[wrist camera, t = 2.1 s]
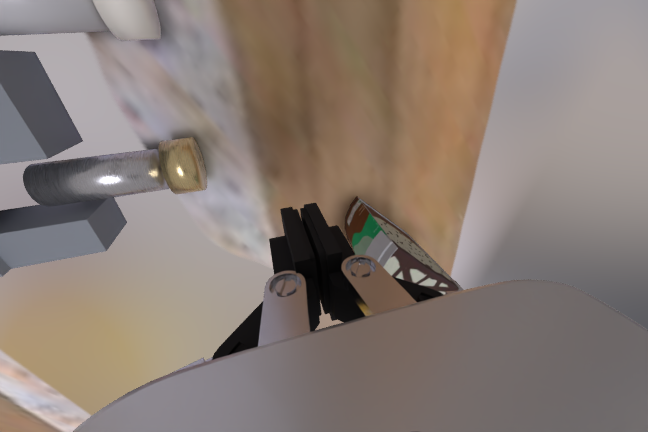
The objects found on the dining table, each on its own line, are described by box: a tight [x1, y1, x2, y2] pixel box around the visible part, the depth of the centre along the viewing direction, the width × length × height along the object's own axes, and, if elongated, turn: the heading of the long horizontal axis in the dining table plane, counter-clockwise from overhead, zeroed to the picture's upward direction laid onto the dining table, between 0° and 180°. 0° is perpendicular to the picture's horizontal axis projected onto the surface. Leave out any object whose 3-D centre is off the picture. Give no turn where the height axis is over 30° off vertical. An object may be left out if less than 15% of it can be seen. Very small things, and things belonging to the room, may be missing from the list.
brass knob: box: [23, 137, 207, 207], centre depth 19 cm, size 4×10×4 cm, turn 94°
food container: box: [345, 197, 463, 295], centre depth 27 cm, size 12×6×10 cm, turn 50°
